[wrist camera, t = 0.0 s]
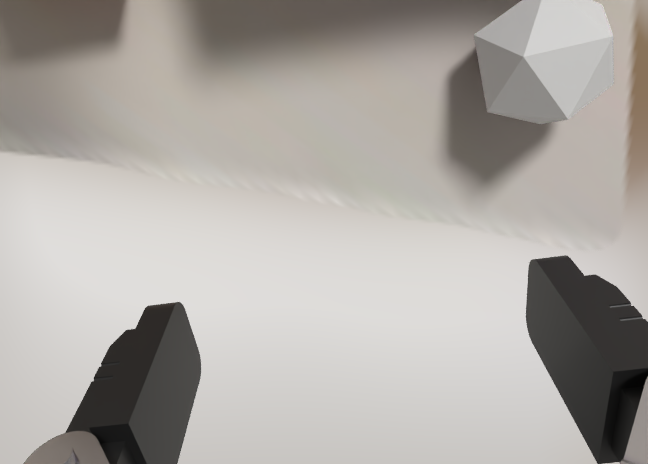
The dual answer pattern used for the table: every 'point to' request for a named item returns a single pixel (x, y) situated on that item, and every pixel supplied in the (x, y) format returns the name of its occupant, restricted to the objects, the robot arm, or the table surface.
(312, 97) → the table surface
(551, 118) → the die
